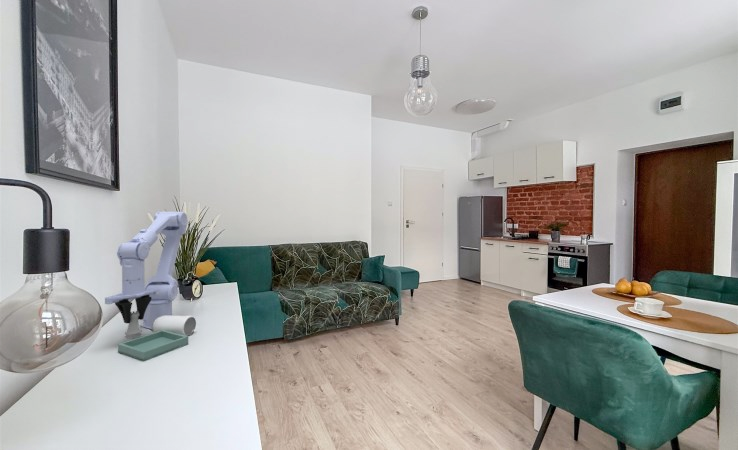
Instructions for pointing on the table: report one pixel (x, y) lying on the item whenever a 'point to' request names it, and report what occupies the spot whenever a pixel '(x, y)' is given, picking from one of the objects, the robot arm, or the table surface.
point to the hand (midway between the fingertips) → (133, 321)
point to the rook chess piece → (133, 327)
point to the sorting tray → (152, 345)
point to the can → (175, 324)
